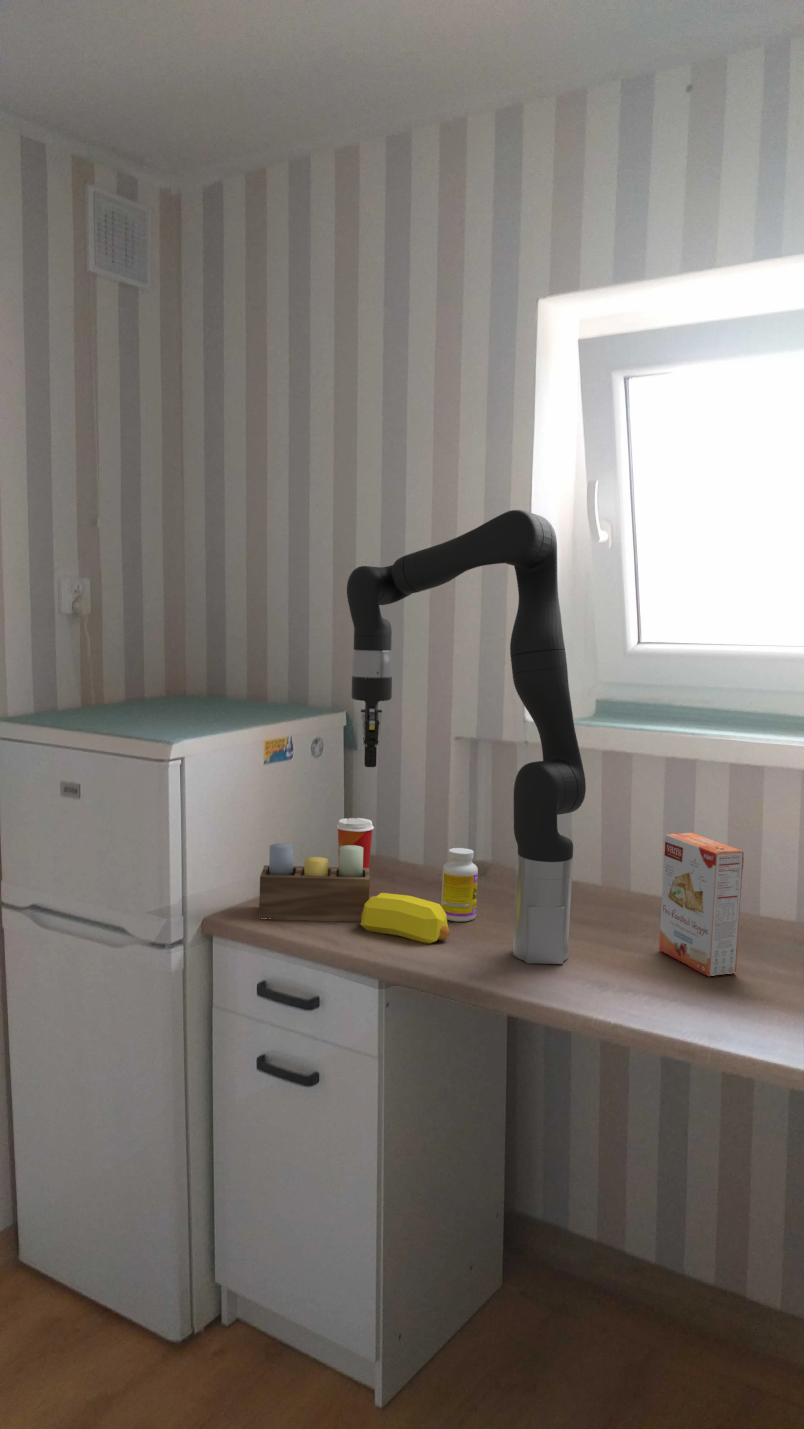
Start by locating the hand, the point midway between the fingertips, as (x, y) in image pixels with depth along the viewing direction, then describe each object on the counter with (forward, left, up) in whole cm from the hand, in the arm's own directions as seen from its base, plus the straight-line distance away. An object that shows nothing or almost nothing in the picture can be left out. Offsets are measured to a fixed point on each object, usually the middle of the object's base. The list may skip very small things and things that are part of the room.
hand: (370, 766), depth 198 cm
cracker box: (-26, -55, -28) cm, 67 cm away
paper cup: (+16, +3, -28) cm, 32 cm away
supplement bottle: (-3, -17, -28) cm, 33 cm away
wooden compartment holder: (-3, +10, -28) cm, 30 cm away
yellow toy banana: (-13, -7, -28) cm, 32 cm away
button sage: (-3, +3, -21) cm, 21 cm away
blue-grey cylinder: (-3, +16, -21) cm, 27 cm away
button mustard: (-3, +10, -23) cm, 25 cm away
